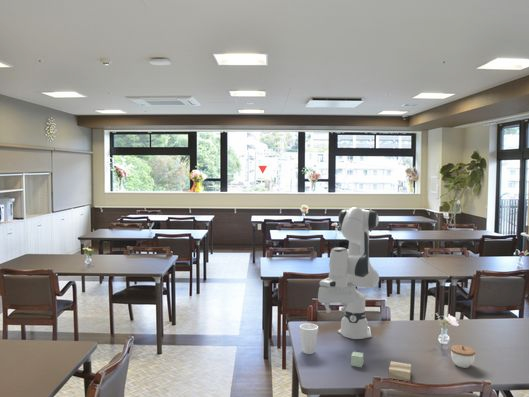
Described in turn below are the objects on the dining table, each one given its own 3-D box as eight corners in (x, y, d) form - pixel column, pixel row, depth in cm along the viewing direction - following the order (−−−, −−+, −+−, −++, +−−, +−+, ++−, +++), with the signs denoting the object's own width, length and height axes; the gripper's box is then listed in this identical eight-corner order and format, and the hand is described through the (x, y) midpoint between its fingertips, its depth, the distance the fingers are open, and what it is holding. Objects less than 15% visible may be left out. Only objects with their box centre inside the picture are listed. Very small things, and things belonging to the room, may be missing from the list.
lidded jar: (473, 372, 201) (473, 352, 201) (448, 366, 207) (449, 347, 207) (475, 363, 211) (476, 344, 210) (452, 358, 216) (452, 340, 216)
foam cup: (316, 356, 217) (317, 330, 217) (298, 354, 219) (298, 329, 219) (318, 348, 227) (318, 324, 226) (300, 347, 229) (301, 322, 228)
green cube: (352, 361, 212) (353, 351, 211) (363, 363, 210) (363, 353, 210) (351, 365, 207) (351, 355, 207) (361, 367, 205) (361, 357, 205)
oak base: (390, 369, 203) (390, 361, 203) (410, 372, 200) (411, 364, 200) (388, 377, 195) (388, 369, 195) (409, 381, 192) (410, 372, 191)
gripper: (349, 281, 211) (347, 310, 210) (316, 281, 200) (314, 311, 199) (358, 283, 206) (357, 312, 205) (325, 283, 195) (323, 314, 194)
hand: (336, 312), depth 202 cm, fingers open, 8 cm apart
